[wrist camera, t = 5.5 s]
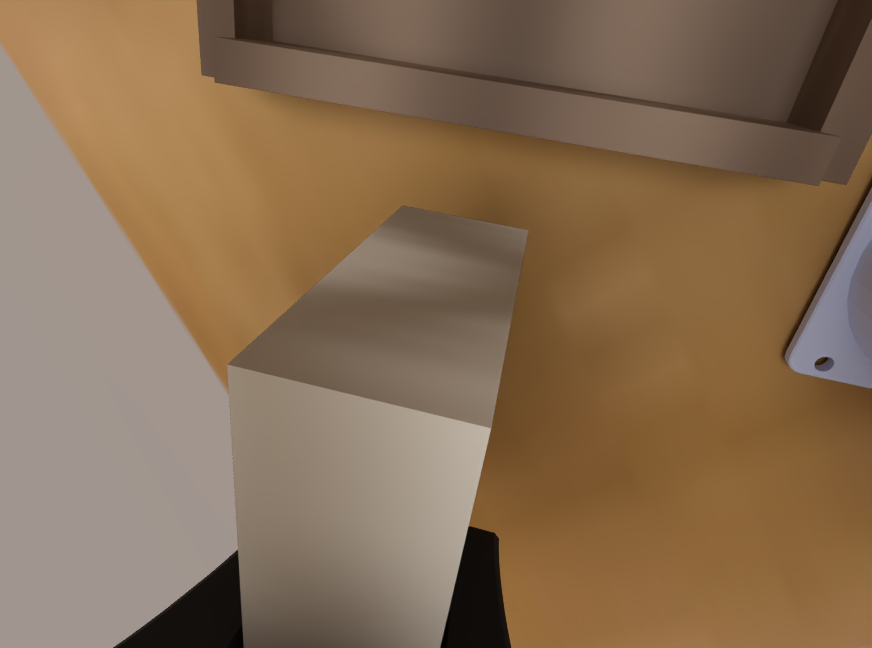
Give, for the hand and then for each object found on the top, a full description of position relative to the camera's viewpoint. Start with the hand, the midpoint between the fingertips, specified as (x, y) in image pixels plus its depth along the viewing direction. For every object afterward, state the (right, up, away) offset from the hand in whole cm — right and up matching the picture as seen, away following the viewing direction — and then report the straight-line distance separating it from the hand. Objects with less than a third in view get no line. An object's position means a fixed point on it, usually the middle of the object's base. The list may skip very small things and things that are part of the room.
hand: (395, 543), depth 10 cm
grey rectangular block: (+1, +1, +2) cm, 3 cm away
